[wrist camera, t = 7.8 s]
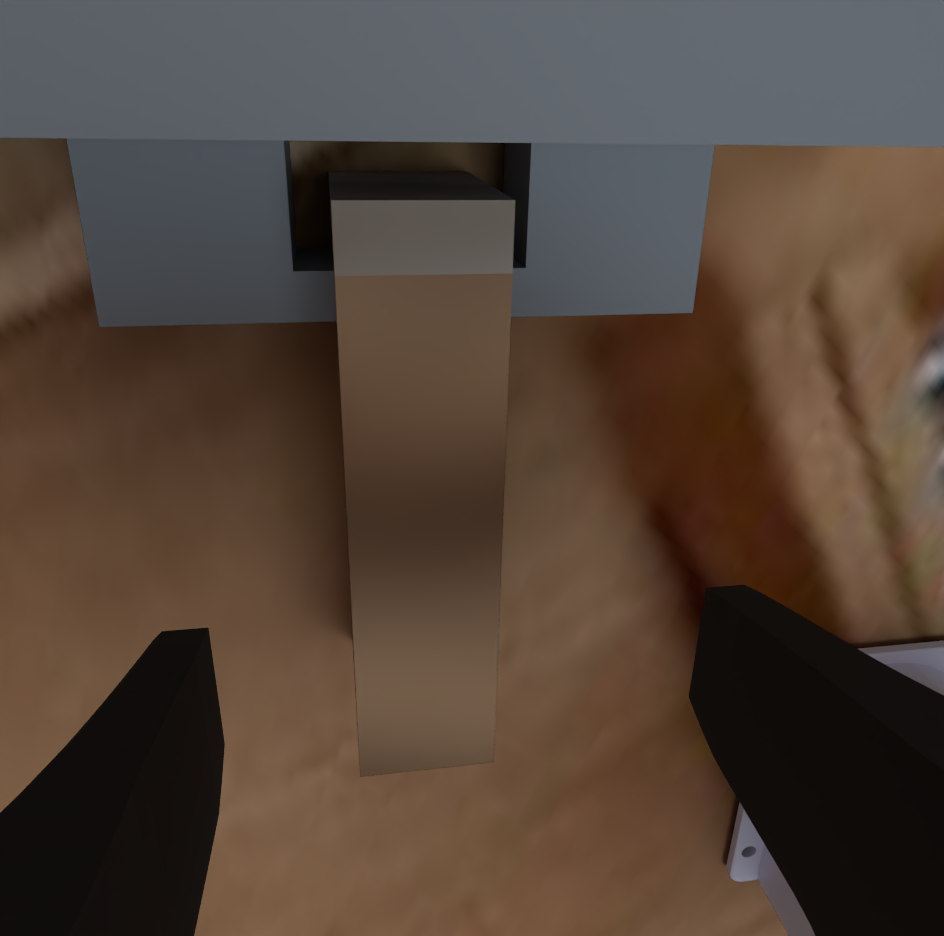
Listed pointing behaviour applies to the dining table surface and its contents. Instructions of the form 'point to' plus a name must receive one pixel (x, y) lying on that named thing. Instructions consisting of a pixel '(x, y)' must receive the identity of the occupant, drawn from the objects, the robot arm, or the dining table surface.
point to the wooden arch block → (423, 455)
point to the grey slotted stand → (441, 128)
